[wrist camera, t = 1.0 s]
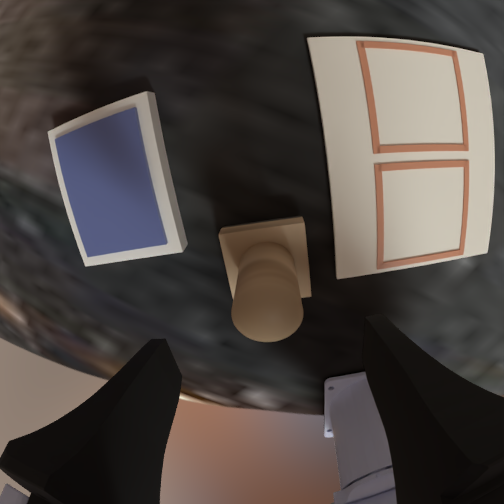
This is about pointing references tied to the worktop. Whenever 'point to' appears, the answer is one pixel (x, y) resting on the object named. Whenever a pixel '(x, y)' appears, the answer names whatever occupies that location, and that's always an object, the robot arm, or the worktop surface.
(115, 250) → the ink pad
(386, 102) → the card sheet
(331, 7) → the worktop surface
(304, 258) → the stamp
